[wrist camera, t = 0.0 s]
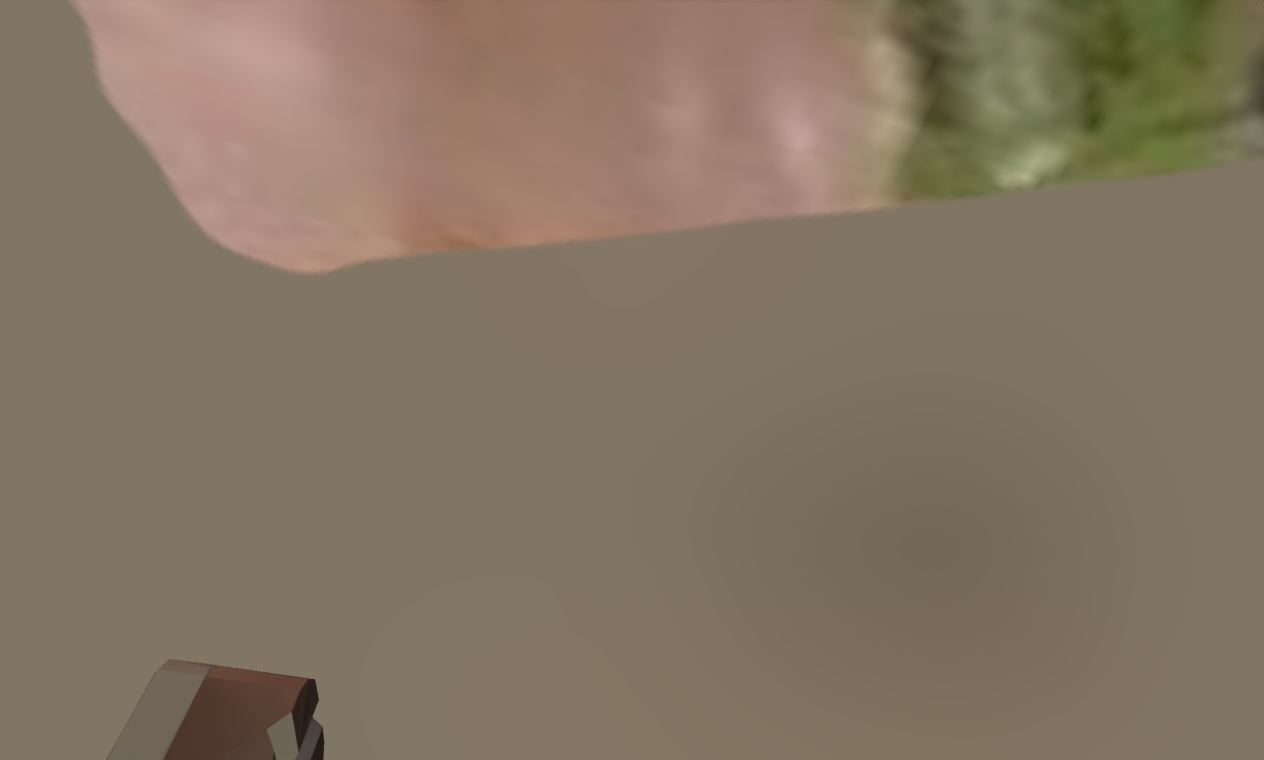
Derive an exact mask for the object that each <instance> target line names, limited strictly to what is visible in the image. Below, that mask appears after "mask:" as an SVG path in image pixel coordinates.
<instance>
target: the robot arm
mask: <svg viewBox="0 0 1264 760" xmlns="http://www.w3.org/2000/svg"><path fill="white" fill-rule="evenodd" d="M318 701H319V698H318V692H317V686H316V681H315V679H309V678H302V677H295V676H288V675H281V674H274V673H267V672H260V671H253V670H246V669H238V668H231V667H224V666H219V665H212V664H205V663H196V662H189V661H180V660H172V659H168V660H167V661H166V662H165V663H164V664H163V665H162V666H161V667H160V668H159V669H158V670H157V671H156V672H155V673H154V675H153V677H152V678H151V680H150V682H149V684H148V686H147V687H146V689H145V691H144V693H143V695H142V696H141V698H140V700H139V702H138V703H137V705H136V707H135V709H134V711H133V712H132V714H131V716H130V718H129V719H128V721H127V723H126V725H125V727H124V728H123V730H122V732H121V734H120V736H119V737H118V739H117V741H116V743H115V745H114V746H113V748H112V750H111V752H110V753H109V755H108V757H107V759H106V760H323V759H324V735H323V727H322V726H321V725H320V724H319V723H318V722H317V721H316V720H315V719H314V718H313V714H314V712H315V709H316V706H317V704H318Z"/></svg>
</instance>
